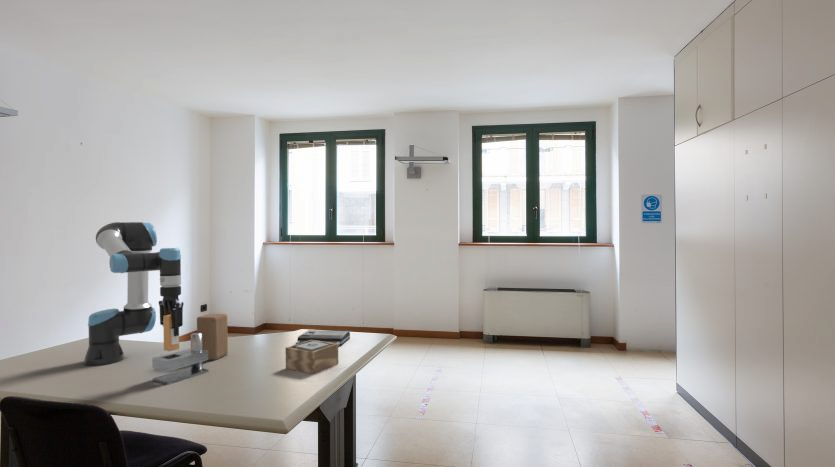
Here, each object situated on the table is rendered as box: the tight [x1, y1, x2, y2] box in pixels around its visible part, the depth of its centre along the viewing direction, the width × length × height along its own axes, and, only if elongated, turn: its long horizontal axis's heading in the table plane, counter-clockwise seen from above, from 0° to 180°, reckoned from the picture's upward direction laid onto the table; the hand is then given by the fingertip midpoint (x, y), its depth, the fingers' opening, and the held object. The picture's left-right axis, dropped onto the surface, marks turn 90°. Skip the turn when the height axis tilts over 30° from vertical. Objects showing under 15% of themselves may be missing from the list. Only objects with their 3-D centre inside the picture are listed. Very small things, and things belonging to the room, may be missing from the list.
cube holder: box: [285, 340, 339, 375], centre depth 200 cm, size 16×16×9 cm
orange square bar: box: [162, 315, 180, 352], centre depth 184 cm, size 4×4×14 cm
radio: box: [295, 329, 351, 347], centre depth 241 cm, size 24×5×20 cm
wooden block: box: [196, 313, 229, 361], centre depth 215 cm, size 10×10×20 cm
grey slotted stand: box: [151, 332, 209, 385], centre depth 188 cm, size 10×18×16 cm, turn 150°
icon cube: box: [296, 341, 329, 351], centre depth 197 cm, size 10×10×10 cm
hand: (171, 343), depth 184 cm, fingers closed on orange square bar, 4 cm apart
